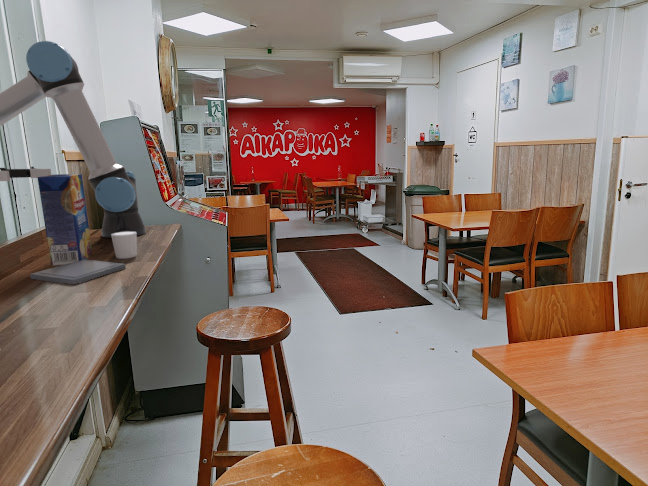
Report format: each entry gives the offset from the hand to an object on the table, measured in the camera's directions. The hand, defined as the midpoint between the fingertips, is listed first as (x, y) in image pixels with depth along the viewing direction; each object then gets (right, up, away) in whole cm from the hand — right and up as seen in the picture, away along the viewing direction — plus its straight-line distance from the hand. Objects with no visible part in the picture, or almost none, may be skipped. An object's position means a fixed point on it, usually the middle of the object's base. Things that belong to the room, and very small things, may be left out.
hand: (30, 174), depth 119 cm
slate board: (+20, -27, -11) cm, 36 cm away
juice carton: (+10, -24, +3) cm, 26 cm away
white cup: (+24, -23, +6) cm, 34 cm away
